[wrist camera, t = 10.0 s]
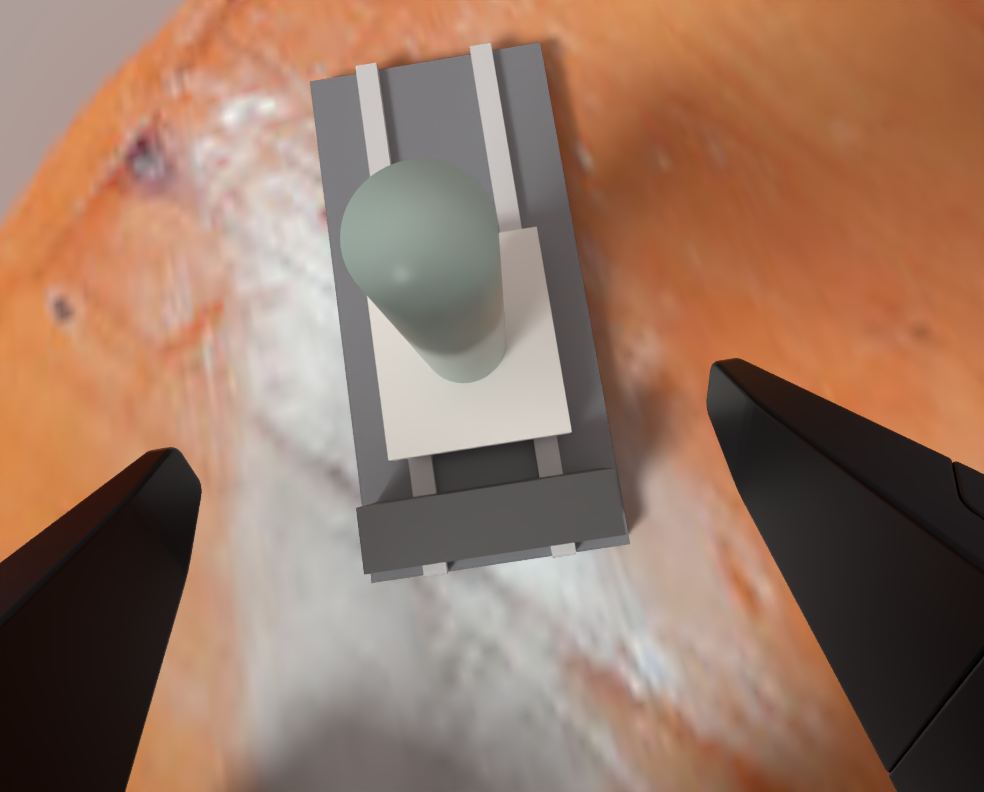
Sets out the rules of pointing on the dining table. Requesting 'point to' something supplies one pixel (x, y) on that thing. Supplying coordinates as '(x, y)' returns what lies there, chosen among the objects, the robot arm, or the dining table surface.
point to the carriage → (452, 313)
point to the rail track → (544, 204)
